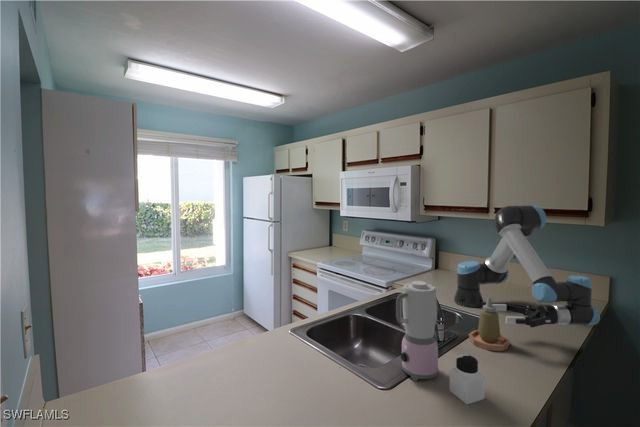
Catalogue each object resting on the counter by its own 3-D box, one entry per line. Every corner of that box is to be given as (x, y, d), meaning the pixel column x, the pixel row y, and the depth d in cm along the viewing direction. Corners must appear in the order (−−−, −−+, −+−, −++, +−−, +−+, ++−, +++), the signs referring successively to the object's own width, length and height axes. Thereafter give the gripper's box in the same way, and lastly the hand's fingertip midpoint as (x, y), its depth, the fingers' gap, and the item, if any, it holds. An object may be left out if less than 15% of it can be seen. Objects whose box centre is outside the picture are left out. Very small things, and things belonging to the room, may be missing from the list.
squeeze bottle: (503, 345, 121) (503, 301, 120) (481, 343, 123) (481, 300, 122) (495, 336, 129) (496, 295, 128) (475, 335, 130) (475, 294, 130)
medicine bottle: (485, 399, 91) (485, 361, 90) (467, 405, 89) (467, 366, 88) (466, 385, 98) (466, 349, 97) (449, 390, 95) (449, 354, 95)
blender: (422, 359, 114) (422, 276, 112) (446, 377, 102) (446, 285, 101) (387, 368, 108) (386, 281, 107) (408, 388, 97) (407, 291, 95)
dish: (465, 334, 133) (465, 329, 133) (498, 335, 132) (498, 330, 132) (478, 350, 119) (478, 345, 119) (515, 351, 118) (515, 346, 118)
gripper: (575, 337, 110) (513, 336, 112) (534, 311, 135) (484, 311, 137) (575, 317, 110) (514, 316, 112) (534, 295, 134) (484, 295, 137)
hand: (497, 313), depth 124 cm, fingers open, 13 cm apart
